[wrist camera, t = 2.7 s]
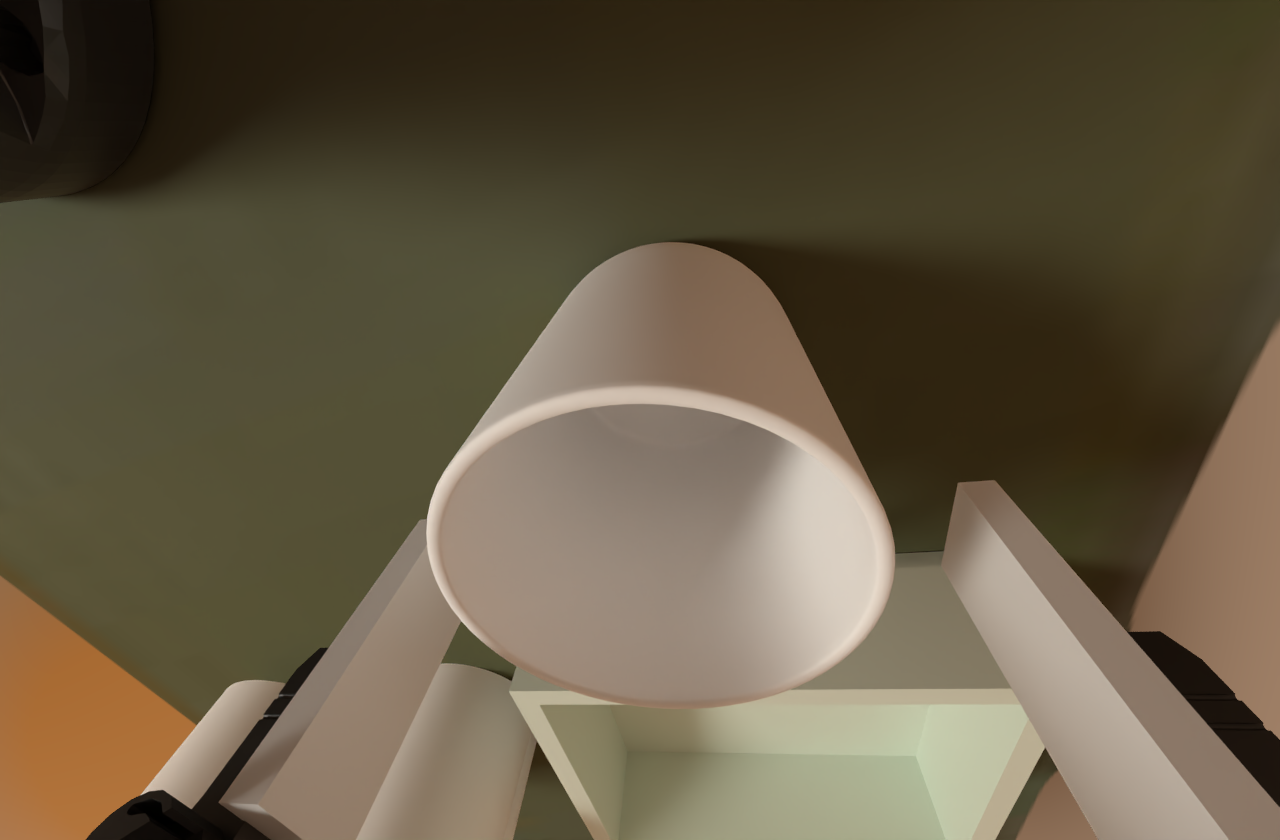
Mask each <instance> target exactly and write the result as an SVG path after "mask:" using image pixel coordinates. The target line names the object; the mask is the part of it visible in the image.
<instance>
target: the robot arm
mask: <svg viewBox="0 0 1280 840" xmlns="http://www.w3.org/2000/svg"><path fill="white" fill-rule="evenodd" d="M153 74H154V40H153V26H152V17H151V10H150V2H149V0H0V203H3V202H11V201H20V200H29V199H38V198H47V197H56V196H62V195H68V194H72V193H75V192H79V191H82V190H85V189H87V188H89V187H92V186H94V185H96V184H97V183H99V182H101V181H102V180H104V179H106V178H107V177H108V176H109V175H111V174H112V173H113V172H114V171H115V170H116V169H117V168H118V167H119V166H120V165H121V164H122V163H123V162H124V161H125V160H126V158H127V157H128V155H129V154H130V152H131V151H132V150H133V148H134V146H135V144H136V142H137V140H138V138H139V136H140V134H141V131H142V129H143V126H144V123H145V121H146V117H147V113H148V109H149V105H150V99H151V93H152V87H153ZM426 530H427V519H425V520H419V522H418V523H417V525H416V526H415V527H414V529H413V530H412V532H411V533H410V534H409V536H408V537H407V539H406V540H405V542H404V543H403V544H402V546H401V547H400V549H399V550H398V551H397V553H396V554H395V556H394V557H393V558H392V560H391V561H390V563H389V564H388V565H387V567H386V568H385V570H384V571H383V572H382V574H381V575H380V577H379V578H378V579H377V581H376V582H375V584H374V585H373V586H372V588H371V589H370V591H369V592H368V593H367V595H366V596H365V598H364V599H363V600H362V602H361V603H360V605H359V606H358V607H357V609H356V610H355V612H354V613H353V614H352V616H351V617H350V619H349V620H348V621H347V623H346V624H345V626H344V627H343V628H342V630H341V631H340V633H339V634H338V636H337V637H336V638H335V640H334V641H333V643H332V644H331V645H330V647H329V648H320V649H318V650H317V651H316V652H315V653H314V654H313V655H312V656H311V657H310V658H309V659H308V660H306V661H305V662H304V663H303V664H302V665H301V666H300V667H299V668H298V669H297V670H296V671H295V672H294V674H293V675H292V676H291V678H290V679H289V680H288V682H287V683H286V684H285V686H284V687H283V689H282V690H281V691H280V693H279V697H278V698H277V699H274V701H273V702H272V703H271V705H270V706H269V707H268V709H267V710H266V711H265V713H264V714H263V715H264V717H263V719H261V720H259V721H258V722H257V723H256V725H255V726H254V727H253V729H252V730H251V732H250V733H249V734H248V736H247V737H246V738H245V740H244V741H243V742H242V744H241V745H240V746H239V748H238V749H237V750H236V752H235V753H234V754H233V756H232V757H231V758H230V760H229V761H228V762H227V764H226V765H225V766H224V768H223V769H222V771H221V772H220V773H219V775H218V776H217V777H216V779H215V780H214V781H213V783H212V784H211V785H210V787H209V788H208V789H207V791H206V792H205V793H204V795H203V796H202V797H201V798H200V800H199V801H198V802H197V803H196V804H195V806H194V807H193V808H192V809H190V808H189V807H187V806H186V805H184V804H183V803H182V802H180V801H179V800H177V799H176V798H174V797H173V796H171V795H170V794H168V793H167V792H166V791H164V790H157V791H149V792H147V793H145V794H142V795H140V796H138V797H136V798H134V799H132V800H130V801H129V802H127V803H126V804H124V805H123V806H122V807H120V808H119V809H117V810H116V811H115V812H113V813H112V814H111V815H109V817H107V818H106V819H105V820H104V821H103V822H102V823H101V824H100V825H99V826H98V827H97V828H96V829H95V830H94V831H93V832H92V833H91V834H90V835H89V836H88V838H87V839H86V840H356V838H357V836H358V834H359V832H360V830H361V828H362V826H363V824H364V822H365V820H366V818H367V816H368V813H369V811H370V809H371V807H372V805H373V803H374V801H375V799H376V797H377V795H378V793H379V791H380V788H381V786H382V784H383V782H384V780H385V778H386V776H387V774H388V772H389V770H390V768H391V766H392V763H393V761H394V759H395V757H396V755H397V753H398V751H399V749H400V747H401V745H402V743H403V741H404V738H405V736H406V734H407V732H408V730H409V728H410V726H411V724H412V722H413V720H414V718H415V716H416V713H417V711H418V709H419V707H420V705H421V703H422V701H423V699H424V697H425V695H426V693H427V691H428V688H429V686H430V684H431V682H432V680H433V678H434V676H435V674H436V672H437V670H438V668H439V666H440V663H441V661H442V659H443V657H444V655H445V653H446V651H447V649H448V647H449V645H450V643H451V641H452V638H453V636H454V634H455V632H456V630H457V628H458V626H459V624H460V622H461V620H460V619H459V617H458V616H457V615H456V614H455V612H454V611H453V610H452V608H451V607H450V605H449V604H448V602H447V601H446V599H445V597H444V596H443V594H442V592H441V590H440V588H439V586H438V584H437V582H436V579H435V577H434V574H433V571H432V568H431V565H430V560H429V555H428V549H427V537H426ZM941 567H942V568H943V570H944V572H945V573H946V575H947V577H948V579H949V580H950V582H951V584H952V586H953V587H954V589H955V591H956V593H957V594H958V596H959V598H960V600H961V601H962V603H963V605H964V607H965V608H966V610H967V612H968V614H969V615H970V617H971V619H972V621H973V622H974V624H975V626H976V628H977V629H978V631H979V633H980V634H981V636H982V638H983V640H984V641H985V643H986V645H987V647H988V648H989V650H990V652H991V654H992V655H993V657H994V659H995V661H996V662H997V664H998V666H999V668H1000V669H1001V671H1002V673H1003V675H1004V676H1005V678H1006V680H1007V682H1008V683H1009V685H1010V687H1011V689H1012V690H1013V692H1014V694H1015V696H1016V697H1017V699H1018V701H1019V702H1020V704H1021V706H1022V708H1023V709H1024V711H1025V713H1026V715H1027V716H1028V718H1029V720H1030V722H1031V723H1032V725H1033V727H1034V729H1035V730H1036V732H1037V734H1038V736H1039V737H1040V739H1041V741H1042V743H1043V744H1044V746H1045V748H1046V750H1047V751H1048V753H1049V755H1050V757H1051V758H1052V760H1053V762H1054V763H1055V765H1056V767H1057V769H1058V770H1059V772H1060V774H1061V776H1062V777H1063V779H1064V781H1065V783H1066V784H1067V786H1068V788H1069V790H1070V791H1071V793H1072V795H1073V796H1074V798H1075V800H1076V802H1077V803H1078V805H1079V807H1080V809H1081V811H1082V812H1083V814H1084V816H1085V818H1086V819H1087V821H1088V823H1089V824H1090V826H1091V828H1092V830H1093V831H1094V833H1095V835H1096V837H1097V838H1098V840H1280V740H1279V739H1278V738H1277V737H1276V736H1275V735H1274V734H1273V732H1272V731H1268V730H1266V729H1265V728H1264V726H1263V722H1262V721H1261V720H1260V719H1259V718H1258V717H1257V716H1256V715H1255V714H1254V713H1253V712H1252V711H1251V710H1250V709H1249V708H1248V707H1247V706H1246V705H1245V704H1244V703H1243V702H1242V701H1239V700H1237V699H1236V697H1235V693H1234V692H1233V691H1232V690H1231V689H1230V688H1229V687H1228V686H1227V685H1226V684H1225V683H1224V682H1223V681H1222V680H1221V679H1220V678H1219V677H1218V676H1217V675H1216V674H1215V673H1214V672H1213V671H1212V670H1211V669H1210V668H1209V666H1208V665H1207V664H1206V663H1205V662H1204V661H1203V660H1202V659H1200V658H1199V657H1197V656H1196V655H1194V654H1193V653H1191V652H1190V651H1188V650H1187V649H1185V648H1184V647H1183V646H1181V645H1179V644H1178V643H1177V642H1175V641H1174V640H1172V639H1171V638H1169V637H1168V636H1166V635H1165V634H1163V633H1162V632H1160V631H1157V632H1126V630H1125V629H1124V628H1123V627H1122V626H1121V625H1120V624H1119V622H1118V621H1117V620H1116V619H1115V618H1114V617H1113V616H1112V614H1111V613H1110V612H1109V611H1108V610H1107V609H1106V607H1105V606H1104V605H1103V604H1102V603H1101V602H1100V601H1099V599H1098V598H1097V597H1096V596H1095V595H1094V594H1093V593H1092V591H1091V590H1090V589H1089V588H1088V587H1087V586H1086V585H1085V583H1084V582H1083V581H1082V580H1081V579H1080V578H1079V576H1078V575H1077V574H1076V573H1075V572H1074V571H1073V570H1072V568H1071V567H1070V566H1069V565H1068V564H1067V563H1066V562H1065V560H1064V559H1063V558H1062V557H1061V556H1060V555H1059V554H1058V552H1057V551H1056V550H1055V549H1054V548H1053V547H1052V546H1051V544H1050V543H1049V542H1048V541H1047V540H1046V539H1045V537H1044V536H1043V535H1042V534H1041V533H1040V532H1039V531H1038V529H1037V528H1036V527H1035V526H1034V525H1033V524H1032V523H1031V521H1030V520H1029V519H1028V518H1027V517H1026V516H1025V515H1024V513H1023V512H1022V511H1021V510H1020V509H1019V508H1018V506H1017V505H1016V504H1015V503H1014V502H1013V501H1012V500H1011V498H1010V497H1009V496H1008V495H1007V494H1006V493H1005V492H1004V490H1003V489H1002V488H1001V487H1000V486H999V485H998V484H997V482H996V481H995V480H990V481H975V482H961V483H958V485H957V490H956V495H955V500H954V505H953V510H952V514H951V519H950V524H949V529H948V534H947V539H946V544H945V549H944V554H943V558H942V563H941Z"/></svg>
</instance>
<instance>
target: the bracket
mask: <svg viewBox="0 0 1280 840" xmlns="http://www.w3.org/2000/svg"><path fill="white" fill-rule="evenodd" d="M511 682H512V681H510V680H508V679H506V678H504V677H503V676H500V675H498V674H496V673H493V672H491V671H488V670H485V669H481V668H477V667H473V666H468V665H462V664H440V666H439V668H438V670H437V672H436V674H435V676H434V678H433V680H432V682H431V684H430V686H429V688H428V691H427V693H426V695H425V697H424V699H423V701H422V703H421V705H420V707H419V709H418V711H417V713H416V716H415V718H414V720H413V722H412V724H411V726H410V728H409V730H408V732H407V734H406V736H405V738H404V741H403V743H402V745H401V747H400V749H399V751H398V753H397V755H396V757H395V759H394V761H393V763H392V766H391V768H390V770H389V772H388V774H387V776H386V778H385V780H384V782H383V784H382V786H381V788H380V791H379V793H378V795H377V797H376V799H375V801H374V803H373V805H372V807H371V809H370V811H369V813H368V816H367V818H366V820H365V822H364V824H363V826H362V828H361V830H360V832H359V834H358V836H357V838H356V840H513V836H514V832H515V828H516V824H517V820H518V816H519V812H520V808H521V804H522V799H523V795H524V791H525V787H526V783H527V779H528V775H529V771H530V767H531V763H532V759H533V755H534V751H535V747H536V742H537V740H536V738H535V736H534V734H533V733H532V731H531V729H530V728H529V726H528V724H527V722H526V721H525V719H524V717H523V715H522V714H521V712H520V710H519V708H518V707H517V705H516V703H515V702H514V700H513V698H512V696H511V695H510V693H509V689H510V685H511ZM284 686H285V684H284V683H279V682H273V681H264V680H249V681H241V682H238V683H235V684H233V685H231V686H229V687H228V688H227V689H226V691H225V692H224V693H223V694H222V696H221V697H220V698H219V699H218V700H217V702H216V703H215V704H214V705H213V707H212V708H211V709H210V710H209V712H208V713H207V714H206V715H205V716H204V718H203V719H202V720H201V721H200V723H199V724H198V725H197V726H196V728H195V729H194V730H193V731H192V732H191V734H190V735H189V736H188V737H187V739H186V740H185V741H184V742H183V744H182V745H181V746H180V747H179V748H178V750H177V751H176V752H175V753H174V755H173V756H172V757H171V758H170V760H169V761H168V762H167V763H166V764H165V766H164V767H163V768H162V769H161V771H160V772H159V773H158V774H157V775H156V777H155V778H154V779H153V780H152V782H151V783H150V784H149V785H148V787H147V788H146V789H145V790H144V791H143V793H142V794H145V793H147V792H149V791H157V790H164V791H166V792H167V793H168V794H170V795H171V796H173V797H174V798H176V799H177V800H179V801H180V802H182V803H183V804H184V805H186V806H187V807H189V808H190V809H192V808H193V807H194V806H195V804H196V803H197V802H198V801H199V800H200V798H201V797H202V796H203V795H204V793H205V792H206V791H207V789H208V788H209V787H210V785H211V784H212V783H213V781H214V780H215V779H216V777H217V776H218V775H219V773H220V772H221V771H222V769H223V768H224V766H225V765H226V764H227V762H228V761H229V760H230V758H231V757H232V756H233V754H234V753H235V752H236V750H237V749H238V748H239V746H240V745H241V744H242V742H243V741H244V740H245V738H246V737H247V736H248V734H249V733H250V732H251V730H252V729H253V727H254V726H255V725H256V723H257V722H258V721H259V720H261V719H263V717H264V715H263V714H264V713H265V711H266V710H267V709H268V707H269V706H270V705H271V703H272V702H273V701H274V699H277V698H278V697H279V693H280V691H281V690H282V689H283V687H284ZM142 794H141V795H142Z"/></svg>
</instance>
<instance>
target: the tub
mask: <svg viewBox="0 0 1280 840" xmlns="http://www.w3.org/2000/svg"><path fill="white" fill-rule="evenodd" d="M943 554H944V551H938V552H918V553H898V554H895V572H894V580H893V584H892V588H891V592H890V596H889V599H888V601H887V604H886V606H885V609H884V611H883V613H882V615H881V617H880V618H879V620H878V622H877V623H876V625H875V627H874V628H873V629H872V631H871V632H870V633H869V635H868V636H867V637H866V638H865V640H864V641H863V642H862V643H861V644H860V645H859V646H858V647H857V648H856V649H855V650H854V651H853V652H852V653H851V654H849V655H848V656H847V657H846V658H845V659H843V660H842V661H841V662H840V663H838V664H837V665H835V666H834V667H832V668H831V669H829V670H828V671H826V672H825V673H823V674H821V675H819V676H818V677H816V678H814V679H812V680H810V681H808V682H806V683H804V684H802V685H800V686H798V687H795V688H793V689H790V690H787V691H785V692H782V693H779V694H776V695H773V696H770V697H767V698H763V699H759V700H755V701H751V702H747V703H741V704H735V705H730V706H722V707H714V708H700V709H662V708H649V707H639V706H632V705H625V704H619V703H614V702H609V701H605V700H601V699H597V698H593V697H589V696H585V695H582V694H579V693H576V692H572V691H570V690H567V689H564V688H561V687H559V686H556V685H554V684H551V683H549V682H547V681H544V680H542V679H540V678H538V677H536V676H534V675H532V674H530V673H528V672H526V671H524V670H522V669H521V668H519V667H516V670H515V673H514V676H513V679H512V682H511V685H510V689H509V693H510V695H511V696H512V698H513V700H514V702H515V703H516V705H517V707H518V708H519V710H520V712H521V714H522V715H523V717H524V719H525V721H526V722H527V724H528V726H529V728H530V729H531V731H532V733H533V734H534V736H535V738H536V740H537V741H538V743H539V745H540V747H541V748H542V750H543V752H544V754H545V755H546V757H547V759H548V760H549V762H550V764H551V766H552V767H553V769H554V771H555V773H556V774H557V776H558V778H559V780H560V781H561V783H562V785H563V786H564V788H565V790H566V792H567V793H568V795H569V797H570V799H571V800H572V802H573V804H574V806H575V807H576V809H577V811H578V813H579V814H580V816H581V818H582V819H583V821H584V823H585V825H586V826H587V828H588V830H589V832H590V833H591V835H592V837H593V839H594V840H995V839H996V837H997V835H998V833H999V831H1000V830H1001V828H1002V826H1003V824H1004V822H1005V820H1006V819H1007V817H1008V815H1009V813H1010V811H1011V809H1012V807H1013V806H1014V804H1015V802H1016V800H1017V798H1018V796H1019V795H1020V793H1021V791H1022V789H1023V787H1024V785H1025V784H1026V782H1027V780H1028V778H1029V776H1030V774H1031V772H1032V771H1033V769H1034V767H1035V765H1036V763H1037V761H1038V760H1039V758H1040V756H1041V754H1042V752H1043V750H1044V748H1045V746H1044V744H1043V743H1042V741H1041V739H1040V737H1039V736H1038V734H1037V732H1036V730H1035V729H1034V727H1033V725H1032V723H1031V722H1030V720H1029V718H1028V716H1027V715H1026V713H1025V711H1024V709H1023V708H1022V706H1021V704H1020V702H1019V701H1018V699H1017V697H1016V696H1015V694H1014V692H1013V690H1012V689H1011V687H1010V685H1009V683H1008V682H1007V680H1006V678H1005V676H1004V675H1003V673H1002V671H1001V669H1000V668H999V666H998V664H997V662H996V661H995V659H994V657H993V655H992V654H991V652H990V650H989V648H988V647H987V645H986V643H985V641H984V640H983V638H982V636H981V634H980V633H979V631H978V629H977V628H976V626H975V624H974V622H973V621H972V619H971V617H970V615H969V614H968V612H967V610H966V608H965V607H964V605H963V603H962V601H961V600H960V598H959V596H958V594H957V593H956V591H955V589H954V587H953V586H952V584H951V582H950V580H949V579H948V577H947V575H946V573H945V572H944V570H943V568H942V567H941V563H942V558H943Z"/></svg>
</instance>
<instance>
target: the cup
mask: <svg viewBox="0 0 1280 840" xmlns="http://www.w3.org/2000/svg"><path fill="white" fill-rule="evenodd" d="M426 537H427V549H428V555H429V560H430V565H431V568H432V571H433V574H434V577H435V579H436V582H437V584H438V586H439V588H440V590H441V592H442V594H443V596H444V597H445V599H446V601H447V602H448V604H449V605H450V607H451V608H452V610H453V611H454V612H455V614H456V615H457V616H458V617H459V619H460V620H461V621H462V622H463V623H464V624H465V625H466V626H467V628H468V629H469V630H470V631H471V632H472V633H473V634H474V635H475V636H477V637H478V638H479V639H480V640H481V641H482V642H483V643H484V644H486V645H487V646H488V647H489V648H491V649H492V650H493V651H495V652H496V653H497V654H499V655H500V656H502V657H503V658H505V659H506V660H508V661H509V662H510V663H512V664H514V665H516V666H517V667H519V668H521V669H522V670H524V671H526V672H528V673H530V674H532V675H534V676H536V677H538V678H540V679H542V680H544V681H547V682H549V683H551V684H554V685H556V686H559V687H561V688H564V689H567V690H570V691H572V692H576V693H579V694H582V695H585V696H589V697H593V698H597V699H601V700H605V701H609V702H614V703H619V704H625V705H632V706H639V707H649V708H662V709H700V708H714V707H722V706H730V705H735V704H741V703H747V702H751V701H755V700H759V699H763V698H767V697H770V696H773V695H776V694H779V693H782V692H785V691H787V690H790V689H793V688H795V687H798V686H800V685H802V684H804V683H806V682H808V681H810V680H812V679H814V678H816V677H818V676H819V675H821V674H823V673H825V672H826V671H828V670H829V669H831V668H832V667H834V666H835V665H837V664H838V663H840V662H841V661H842V660H843V659H845V658H846V657H847V656H848V655H849V654H851V653H852V652H853V651H854V650H855V649H856V648H857V647H858V646H859V645H860V644H861V643H862V642H863V641H864V640H865V638H866V637H867V636H868V635H869V633H870V632H871V631H872V629H873V628H874V627H875V625H876V623H877V622H878V620H879V618H880V617H881V615H882V613H883V611H884V609H885V606H886V604H887V601H888V599H889V596H890V592H891V588H892V584H893V580H894V572H895V545H894V540H893V535H892V530H891V526H890V524H889V521H888V518H887V516H886V513H885V510H884V508H883V506H882V504H881V502H880V500H879V498H878V496H877V494H876V492H875V490H874V488H873V486H872V484H871V482H870V480H869V478H868V476H867V474H866V472H865V470H864V468H863V466H862V464H861V462H860V460H859V458H858V456H857V454H856V452H855V450H854V448H853V446H852V445H851V443H850V441H849V439H848V437H847V435H846V433H845V431H844V429H843V427H842V425H841V423H840V421H839V419H838V417H837V415H836V413H835V411H834V409H833V407H832V405H831V403H830V401H829V399H828V397H827V395H826V393H825V391H824V389H823V387H822V385H821V383H820V381H819V379H818V377H817V375H816V373H815V371H814V369H813V367H812V365H811V363H810V361H809V359H808V357H807V355H806V353H805V351H804V349H803V347H802V345H801V343H800V341H799V339H798V337H797V335H796V333H795V331H794V329H793V327H792V325H791V323H790V321H789V319H788V317H787V316H786V314H785V312H784V310H783V308H782V306H781V305H780V303H779V301H778V300H777V299H776V297H775V296H774V294H773V293H772V291H771V290H770V289H769V288H768V286H767V285H766V284H765V283H764V282H763V281H762V280H761V279H760V278H759V277H758V276H757V275H756V274H755V273H754V272H753V271H751V270H750V269H749V268H747V267H746V266H745V265H743V264H742V263H741V262H739V261H737V260H735V259H734V258H732V257H730V256H728V255H726V254H724V253H722V252H720V251H717V250H714V249H711V248H708V247H705V246H701V245H696V244H690V243H681V242H664V243H654V244H648V245H643V246H639V247H636V248H633V249H630V250H627V251H625V252H623V253H620V254H618V255H616V256H614V257H612V258H610V259H609V260H607V261H605V262H603V263H602V264H601V265H599V266H598V267H596V268H595V269H594V270H592V271H591V272H590V273H589V274H588V275H587V276H586V277H585V278H584V279H583V280H582V281H581V282H580V283H579V284H578V285H577V286H576V287H575V288H574V289H573V291H572V292H571V293H570V295H569V296H568V297H567V299H566V300H565V301H564V303H563V304H562V305H561V307H560V308H559V310H558V311H557V312H556V314H555V315H554V317H553V318H552V320H551V321H550V322H549V324H548V325H547V327H546V328H545V329H544V331H543V332H542V334H541V335H540V337H539V338H538V339H537V341H536V342H535V344H534V345H533V346H532V348H531V349H530V351H529V352H528V353H527V355H526V356H525V358H524V359H523V361H522V362H521V363H520V365H519V366H518V368H517V369H516V370H515V372H514V373H513V375H512V376H511V377H510V379H509V380H508V382H507V383H506V385H505V386H504V387H503V389H502V390H501V392H500V393H499V394H498V396H497V397H496V399H495V400H494V402H493V403H492V404H491V406H490V407H489V409H488V410H487V411H486V413H485V414H484V416H483V417H482V418H481V420H480V421H479V423H478V424H477V426H476V427H475V428H474V430H473V431H472V433H471V434H470V435H469V437H468V438H467V440H466V441H465V442H464V444H463V445H462V447H461V448H460V450H459V451H458V452H457V454H456V455H455V457H454V458H453V459H452V461H451V462H450V464H449V465H448V467H447V468H446V469H445V471H444V473H443V475H442V476H441V478H440V480H439V482H438V484H437V486H436V488H435V491H434V494H433V496H432V499H431V502H430V507H429V512H428V516H427V530H426Z"/></svg>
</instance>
